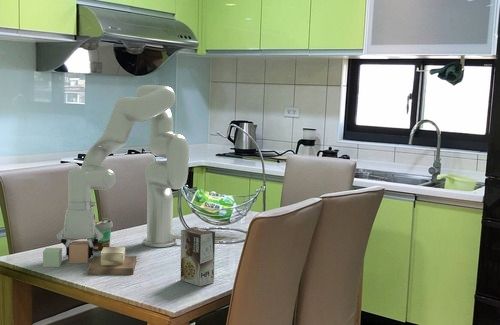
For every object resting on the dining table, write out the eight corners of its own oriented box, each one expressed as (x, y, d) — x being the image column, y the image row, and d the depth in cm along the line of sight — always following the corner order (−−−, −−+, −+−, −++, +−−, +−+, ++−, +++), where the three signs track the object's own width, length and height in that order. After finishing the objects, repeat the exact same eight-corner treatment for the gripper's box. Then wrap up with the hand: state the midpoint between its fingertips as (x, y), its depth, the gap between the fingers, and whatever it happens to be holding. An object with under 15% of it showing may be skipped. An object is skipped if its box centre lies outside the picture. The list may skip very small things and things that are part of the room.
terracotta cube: (90, 257, 209) (90, 240, 208) (87, 262, 203) (87, 245, 202) (72, 257, 208) (72, 240, 207) (69, 262, 202) (69, 245, 202)
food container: (104, 253, 214) (104, 225, 213) (87, 251, 216) (87, 224, 214) (118, 244, 226) (118, 218, 225) (103, 243, 228) (103, 217, 226)
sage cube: (61, 262, 202) (61, 247, 202) (58, 266, 198) (58, 251, 197) (46, 262, 202) (46, 247, 201) (43, 266, 197) (42, 251, 196)
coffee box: (214, 282, 187) (216, 231, 185) (199, 287, 182) (200, 234, 180) (194, 275, 193) (195, 226, 191) (179, 280, 188) (180, 229, 186)
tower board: (136, 261, 206) (136, 255, 206) (133, 274, 192) (133, 268, 192) (94, 261, 204) (94, 255, 204) (87, 274, 190) (87, 268, 190)
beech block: (124, 258, 202) (125, 247, 201) (123, 265, 195) (123, 252, 194) (103, 258, 201) (103, 247, 200) (100, 265, 194) (100, 252, 194)
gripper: (107, 203, 208) (107, 254, 210) (55, 203, 206) (55, 254, 208) (104, 208, 201) (104, 261, 203) (50, 207, 198) (51, 260, 201)
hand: (79, 257), depth 205 cm, fingers closed on terracotta cube, 6 cm apart
